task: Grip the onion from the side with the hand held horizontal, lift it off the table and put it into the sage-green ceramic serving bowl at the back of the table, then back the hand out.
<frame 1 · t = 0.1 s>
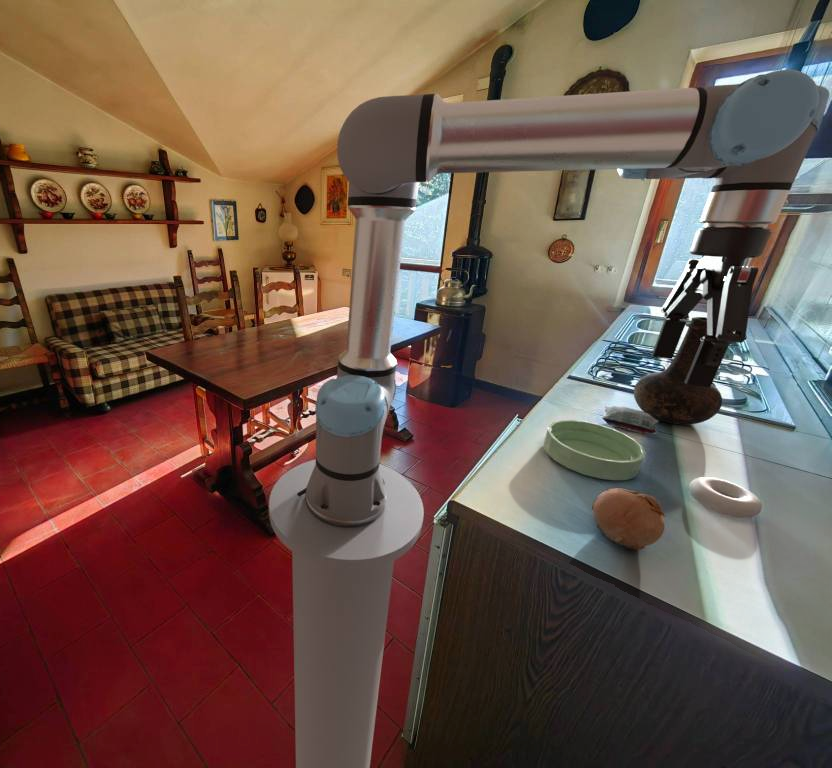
hand: (677, 370, 62), 28 cm above the counter, tool pointing down, fingers open, 13 cm apart
bowl: (587, 458, 89), on the counter
onion: (618, 537, 66), on the counter
donut: (719, 504, 75), on the counter
packaged food: (626, 427, 103), on the counter
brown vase: (666, 417, 109), on the counter
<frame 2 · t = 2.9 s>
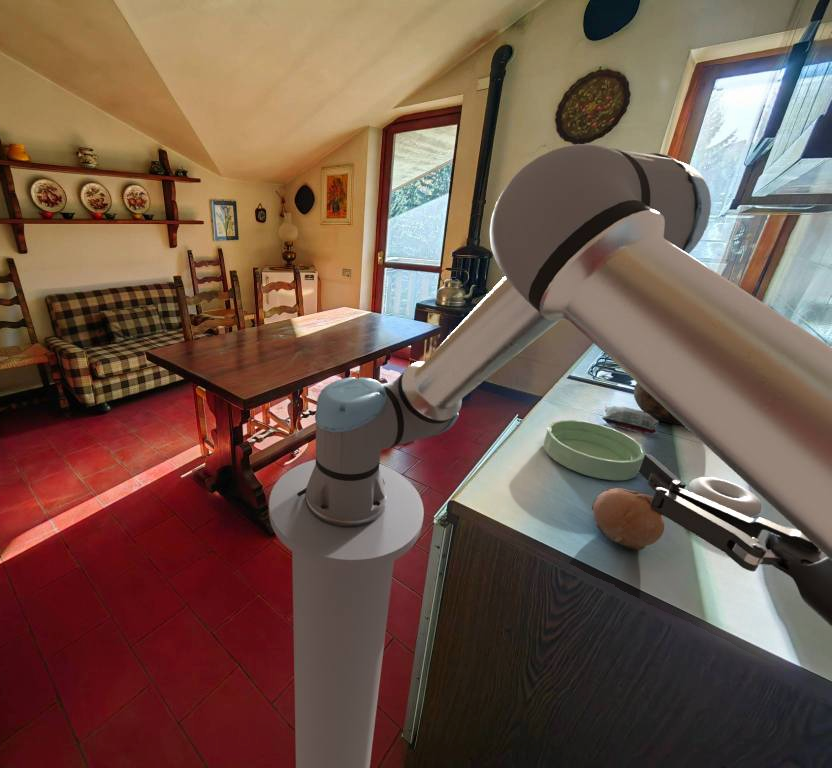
hand: (702, 468, 50), 20 cm above the counter, tool horizontal, fingers open, 13 cm apart
nothing on the counter moved.
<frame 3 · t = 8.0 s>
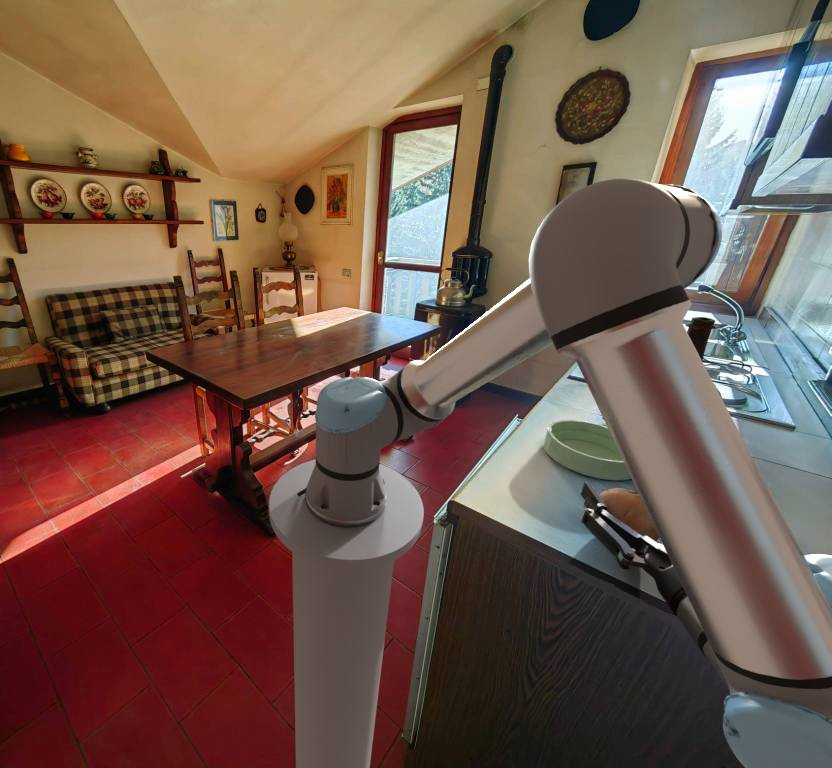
hand: (616, 492, 68), 6 cm above the counter, tool horizontal, fingers closed on onion, 9 cm apart
onion: (618, 537, 66), on the counter, touching gripper
everything else where it was.
when the fingers open (7 cm above the counter, at t = 17.6 s): onion stays where it is, resting on bowl.
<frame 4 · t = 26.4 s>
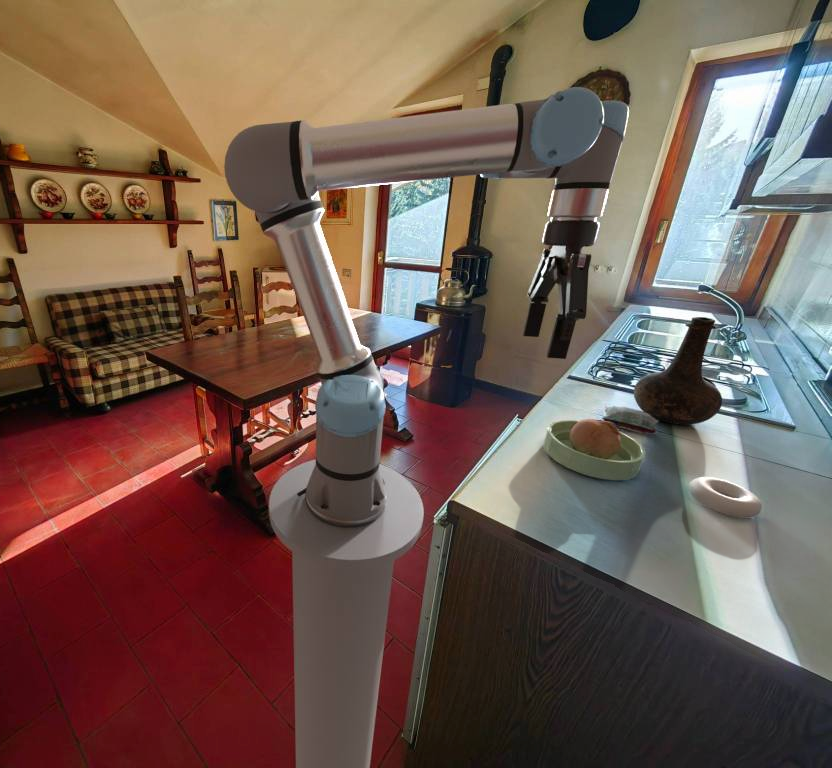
hand: (542, 346, 71), 29 cm above the counter, tool pointing down, fingers open, 13 cm apart
onion: (588, 456, 89), resting on bowl
everything else where it was.
at the end: onion inside the target area in the bowl (0.0 cm from its centre), point 0.4 cm above the bowl's base; the gripper is holding nothing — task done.
